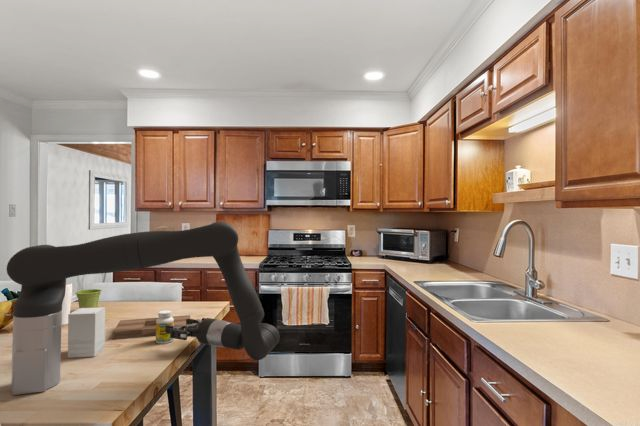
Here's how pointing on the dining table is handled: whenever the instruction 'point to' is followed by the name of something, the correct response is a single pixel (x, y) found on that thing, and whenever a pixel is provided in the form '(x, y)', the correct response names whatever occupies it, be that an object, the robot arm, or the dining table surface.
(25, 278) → the robot arm
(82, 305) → the plant pot
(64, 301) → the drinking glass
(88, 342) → the supplement box
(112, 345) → the dining table surface
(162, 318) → the supplement bottle
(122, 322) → the walnut board
